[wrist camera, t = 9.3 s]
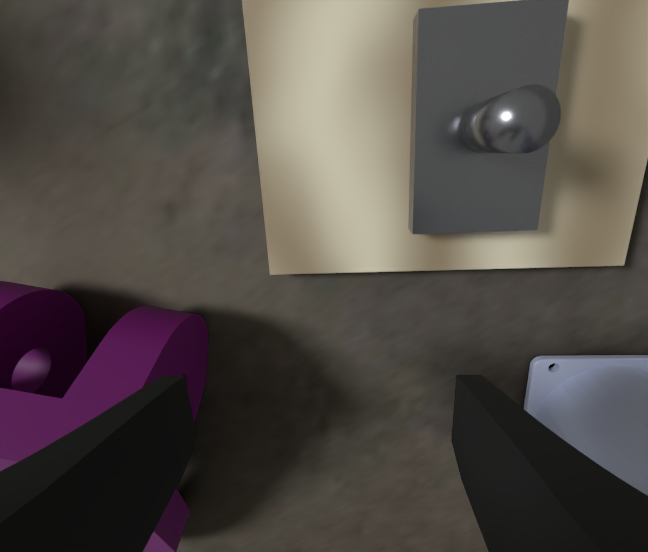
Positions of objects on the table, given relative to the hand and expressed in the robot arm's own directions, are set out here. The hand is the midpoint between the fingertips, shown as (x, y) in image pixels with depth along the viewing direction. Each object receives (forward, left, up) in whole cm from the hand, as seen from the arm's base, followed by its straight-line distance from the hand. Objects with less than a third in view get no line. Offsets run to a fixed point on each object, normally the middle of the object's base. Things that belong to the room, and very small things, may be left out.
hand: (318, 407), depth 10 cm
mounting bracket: (+13, +8, -10) cm, 18 cm away
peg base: (-6, -7, -8) cm, 12 cm away
